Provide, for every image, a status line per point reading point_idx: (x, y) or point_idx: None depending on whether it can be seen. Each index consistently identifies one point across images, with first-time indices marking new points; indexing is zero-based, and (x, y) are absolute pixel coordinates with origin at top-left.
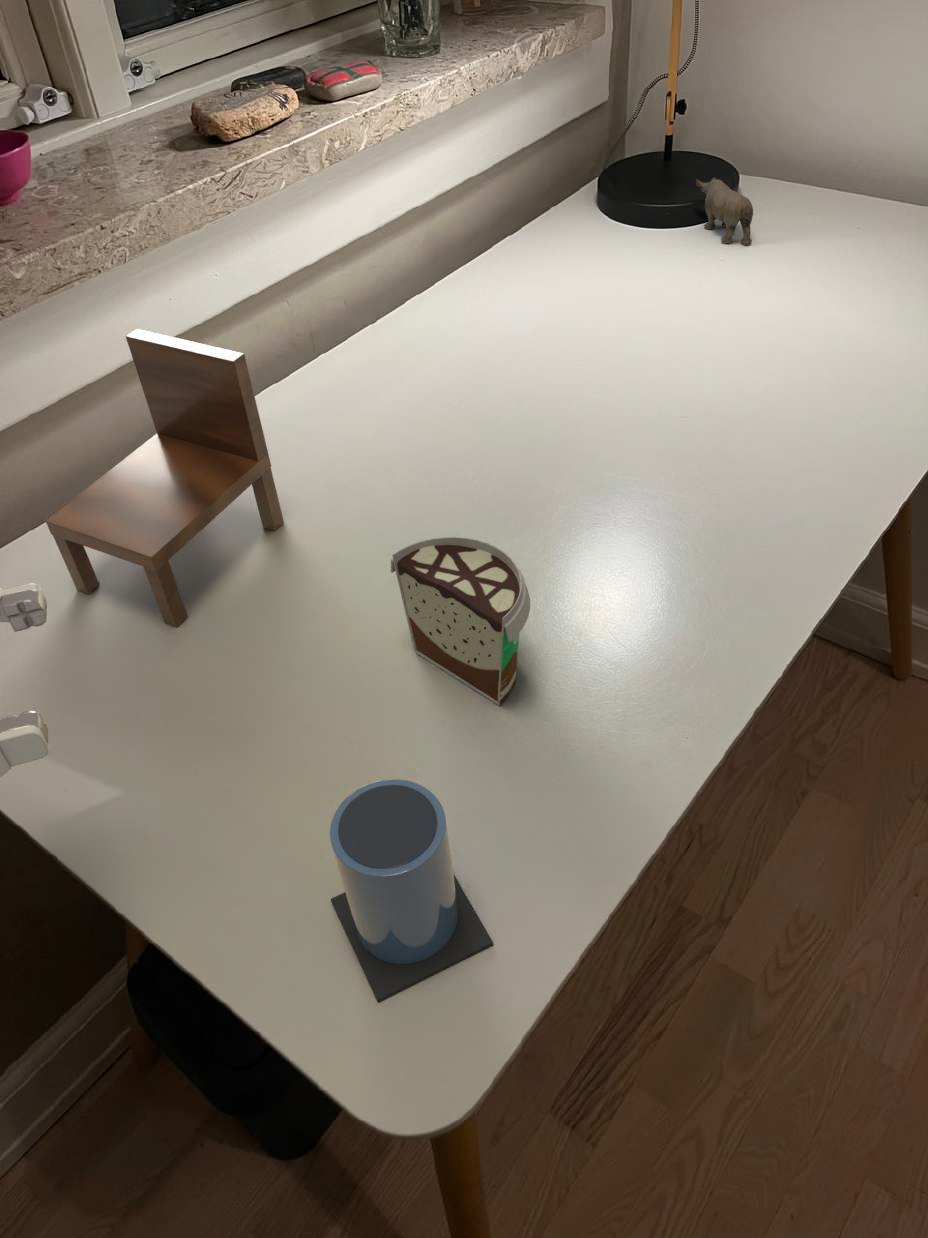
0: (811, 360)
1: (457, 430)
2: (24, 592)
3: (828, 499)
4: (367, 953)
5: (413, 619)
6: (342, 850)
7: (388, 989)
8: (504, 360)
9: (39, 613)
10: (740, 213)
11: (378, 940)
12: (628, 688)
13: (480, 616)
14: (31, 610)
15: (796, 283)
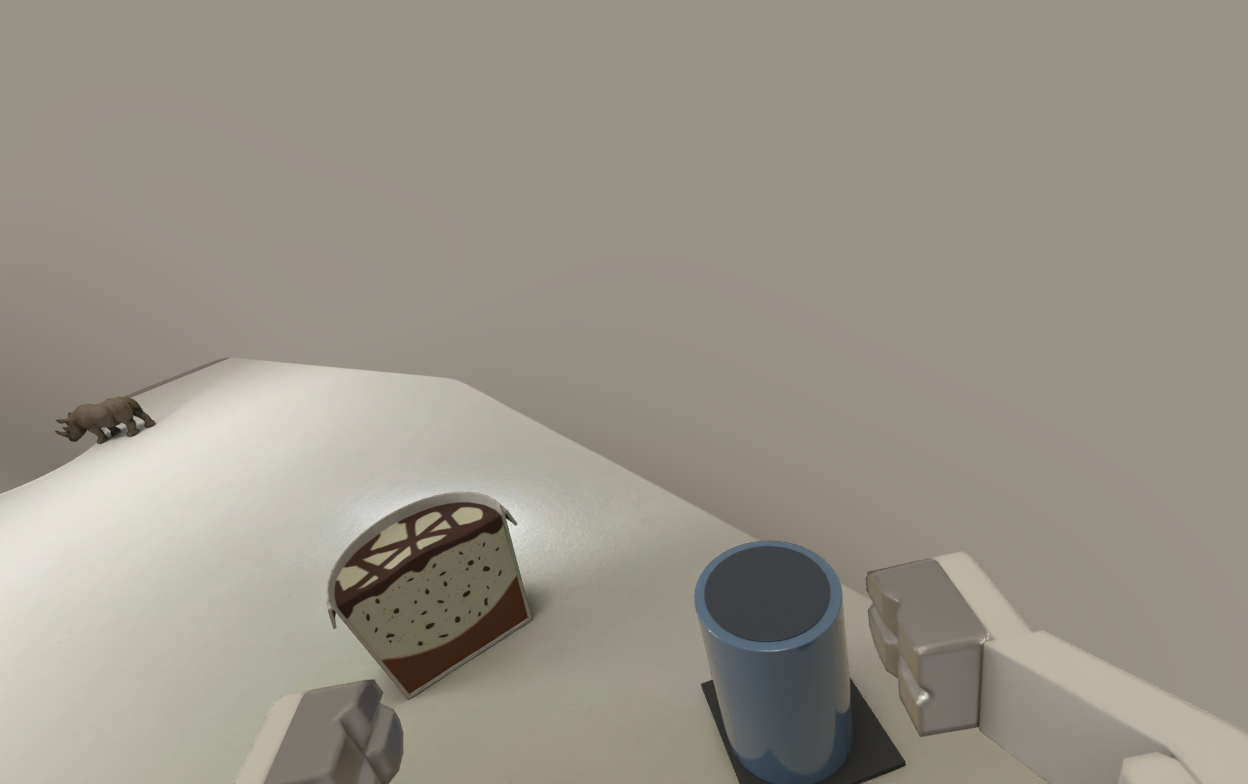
0: (311, 408)
1: (110, 637)
2: (303, 713)
3: (447, 412)
4: (839, 771)
5: (389, 656)
6: (801, 635)
7: (888, 748)
8: (62, 587)
9: (384, 718)
10: (130, 406)
11: (846, 720)
12: (559, 525)
13: (473, 537)
14: (373, 721)
15: (228, 407)
